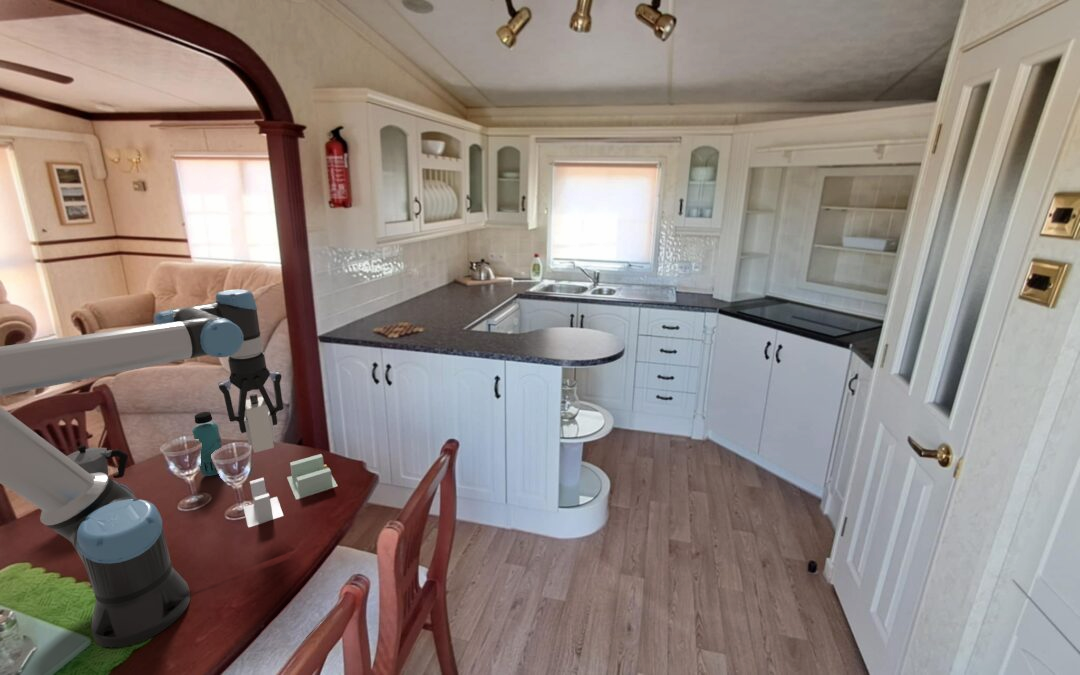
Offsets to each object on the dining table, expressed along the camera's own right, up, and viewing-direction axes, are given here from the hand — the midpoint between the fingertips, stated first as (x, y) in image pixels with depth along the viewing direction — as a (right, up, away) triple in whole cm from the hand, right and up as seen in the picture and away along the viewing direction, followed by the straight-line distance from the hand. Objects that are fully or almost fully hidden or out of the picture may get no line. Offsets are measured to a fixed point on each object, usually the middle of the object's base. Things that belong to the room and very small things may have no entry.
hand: (261, 439), depth 121 cm
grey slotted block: (-2, -21, +4) cm, 21 cm away
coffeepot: (-46, -19, +6) cm, 51 cm away
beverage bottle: (-26, -15, +21) cm, 37 cm away
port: (+5, -17, +17) cm, 25 cm away
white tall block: (0, -2, 0) cm, 2 cm away
